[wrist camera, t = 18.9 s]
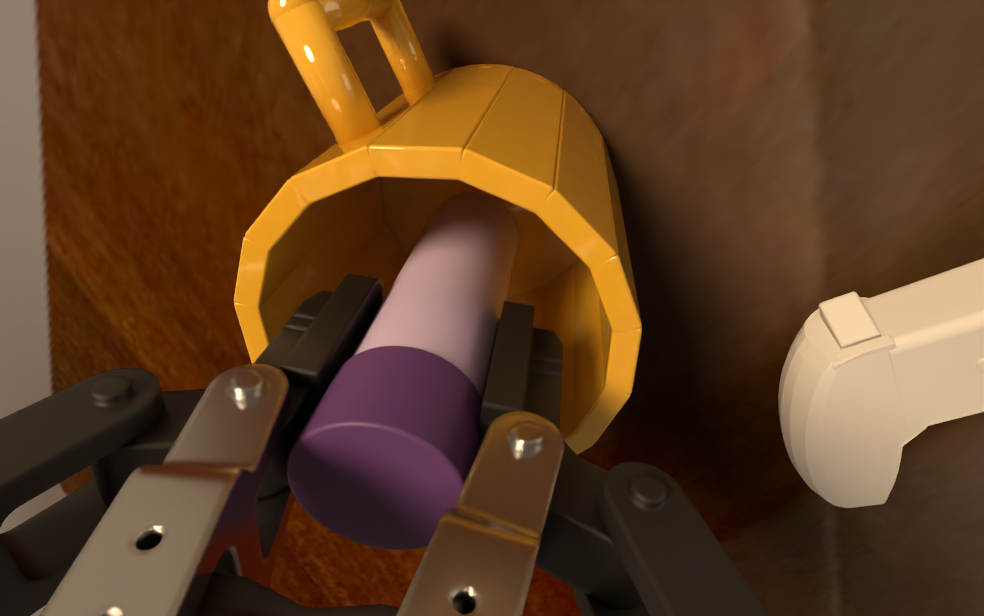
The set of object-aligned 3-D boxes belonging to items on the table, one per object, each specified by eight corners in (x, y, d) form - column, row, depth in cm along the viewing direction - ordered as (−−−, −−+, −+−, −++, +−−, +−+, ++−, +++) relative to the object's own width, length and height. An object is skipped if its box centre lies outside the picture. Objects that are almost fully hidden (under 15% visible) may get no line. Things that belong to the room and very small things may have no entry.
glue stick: (409, 239, 18) (255, 492, 9) (462, 167, 16) (339, 390, 8) (484, 292, 18) (405, 573, 10) (542, 229, 17) (507, 494, 8)
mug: (642, 261, 21) (684, 450, 13) (435, 322, 23) (361, 509, 15) (530, -97, 15) (478, -162, 7) (279, 36, 18) (43, 94, 10)
